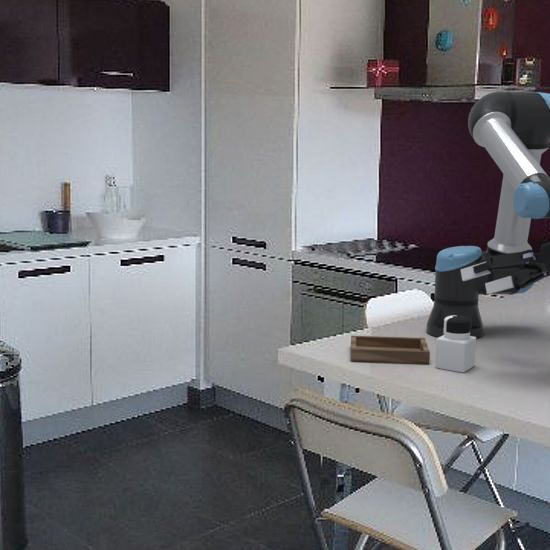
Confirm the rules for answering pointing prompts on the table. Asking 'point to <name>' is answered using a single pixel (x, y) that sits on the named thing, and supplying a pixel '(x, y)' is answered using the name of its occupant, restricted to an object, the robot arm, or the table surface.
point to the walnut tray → (389, 350)
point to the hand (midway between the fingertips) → (474, 282)
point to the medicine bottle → (456, 345)
